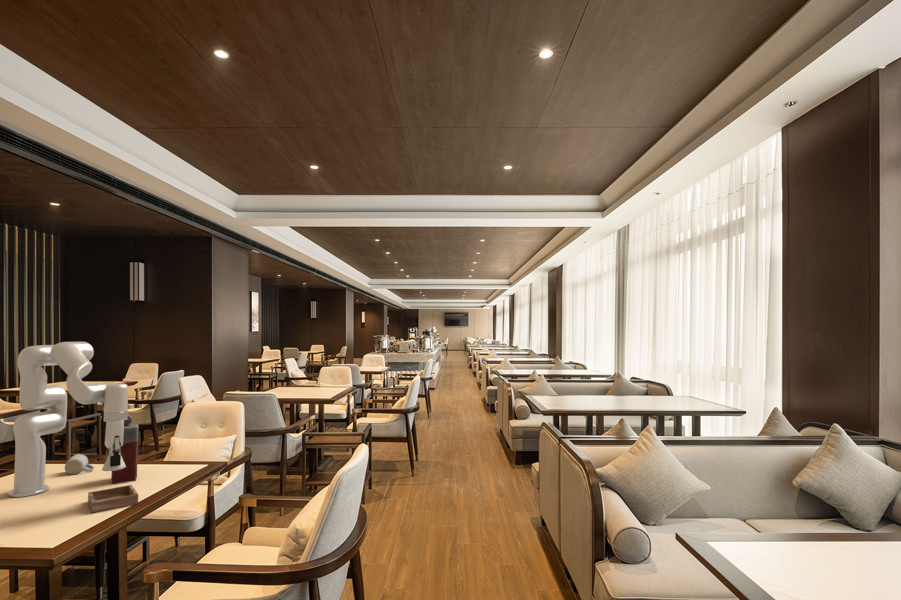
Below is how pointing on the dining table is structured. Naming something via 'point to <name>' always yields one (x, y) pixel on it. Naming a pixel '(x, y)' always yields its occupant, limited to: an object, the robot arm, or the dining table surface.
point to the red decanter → (128, 454)
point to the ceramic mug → (78, 464)
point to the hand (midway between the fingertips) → (114, 463)
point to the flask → (114, 468)
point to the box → (112, 498)
